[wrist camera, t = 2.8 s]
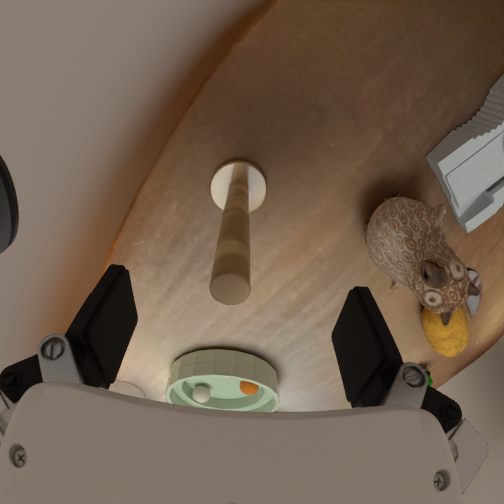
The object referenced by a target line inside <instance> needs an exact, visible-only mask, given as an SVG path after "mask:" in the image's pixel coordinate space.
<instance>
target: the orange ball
mask: <svg viewBox="0 0 504 504" xmlns="http://www.w3.org/2000/svg"><path fill="white" fill-rule="evenodd" d="M258 389H259V385H256V384H254V383H251V382H247V381H242V380H241V382H240V390H241V391H242V392H243V393H244V394H246V395H253V394H255V393H256V392H257V391H258Z"/></svg>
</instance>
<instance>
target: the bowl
mask: <svg viewBox="0 0 504 504" xmlns="http://www.w3.org/2000/svg"><path fill="white" fill-rule="evenodd" d="M241 380H242V381H247V382H251V383H254V384H256V385H259V389H258V391H257V392H256V393H255V394H253V395H246V394H244V393H243V392H242V391H241V390H240V382H241ZM197 386H205V387H207V388H208V389H209V391H210V394H211V395H210V398H209V400H208V401H206V402H203V403H201V402H197V401H196V400H195V399H194V398H193V395H192V392H193V390H194V388H195V387H197ZM165 394H166V397H167V401H168V402H169V403H171V404H178V405H185V406H192V407H200V408H209V409H219V410H232V411H249V412H274V411H276V410H277V408H278V405H279V403H280V397H279V386H278V378H277V374H276V371H275V370H274V369H273V368H272V367H271V366H270V365H269V364H268V363H267V362H266V361H264V360H262V359H260V358H258V357H256V356H254V355H250V354H246V353H243V352H239V351H234V350H221V349H212V350H202V351H196V352H193V353H190V354H187V355H184V356H182V357H180V358H179V359H178V360H177V361H175V362H174V363H173V365H172V367H171V370H170V373H169V378H168V383H167V388H166V393H165Z"/></svg>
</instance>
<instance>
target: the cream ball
mask: <svg viewBox="0 0 504 504" xmlns="http://www.w3.org/2000/svg"><path fill="white" fill-rule="evenodd" d="M192 395H193V398H194V399H195V400H196V401H197V402H201V403H203V402H206V401H208V400H209V398H210V395H211V394H210V391H209V389H208V388H207V387H205V386H197V387H195V388H194V390H193V392H192Z"/></svg>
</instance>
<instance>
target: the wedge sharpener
mask: <svg viewBox="0 0 504 504" xmlns="http://www.w3.org/2000/svg"><path fill="white" fill-rule="evenodd" d="M486 97H487V100H485V101H484V105H483V106H481V108H480V111H478V112H477V114H476V116H473V117H472V120H468V122H467V124H463V125H462V127H461V128H460V127H457V129H456V130H455V131H454V130H452V131H451V132H450V133H449V134H448V135H447V136H446V137H445V138H444V139H443V140H442V141H441V142H440V143H439V144H438V145H437V146H436V147H435V148H434V149H433V150H432V151H431V152H430V153H429V154H428V155H427V156H426V159H427V160H428V162H429V164H430V166H431V168H432V169H433V171H434V173H435V175H436V177H437V179H438V181H439V183H440V185H441V187H442V189H443V191H444V193H445V195H446V197H447V199H448V201H449V204H450V206H451V208H452V210H453V213H454V215H455V217H456V220H457V222H458V224H459V225H460V226H461V227H462V228H463V229H464V230H465V231H466V232H467V233H469V232H470V231H472V230H473V229H475V228H476V227H477V226H479V225H480V224H481V223H483V222H484V221H485V220H487V219H488V218H489V217H491V216H492V215H493V214H495V213H496V212H497V211H498V209H499V208H500V207H501V206H503V203H504V74H503V75H502V76H501V77H500V78H499V80H498V81H497V82H496V83H495V84H494V85H493V87H492V88H491V89H490V90H489V94H488V95H487V96H486Z"/></svg>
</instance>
